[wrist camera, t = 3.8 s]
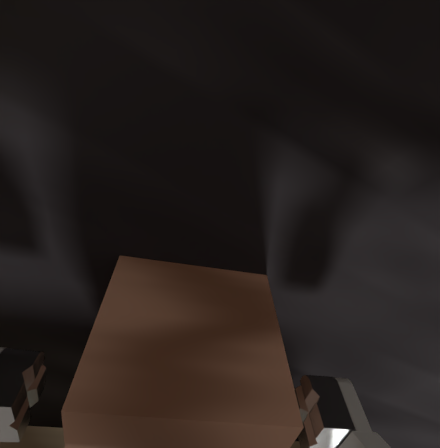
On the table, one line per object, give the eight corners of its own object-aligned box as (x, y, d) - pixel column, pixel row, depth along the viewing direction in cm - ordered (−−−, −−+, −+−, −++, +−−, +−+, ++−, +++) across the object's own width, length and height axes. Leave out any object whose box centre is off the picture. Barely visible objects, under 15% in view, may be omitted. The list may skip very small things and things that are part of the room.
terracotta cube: (266, 273, 11) (303, 427, 7) (234, 360, 14) (246, 511, 9) (120, 253, 10) (60, 411, 6) (115, 349, 13) (71, 507, 9)
